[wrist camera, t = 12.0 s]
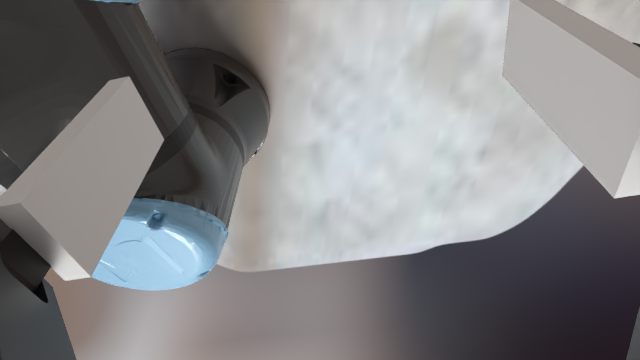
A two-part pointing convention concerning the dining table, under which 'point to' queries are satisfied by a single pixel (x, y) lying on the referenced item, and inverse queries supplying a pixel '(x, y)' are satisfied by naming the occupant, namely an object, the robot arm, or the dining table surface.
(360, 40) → the dining table surface
